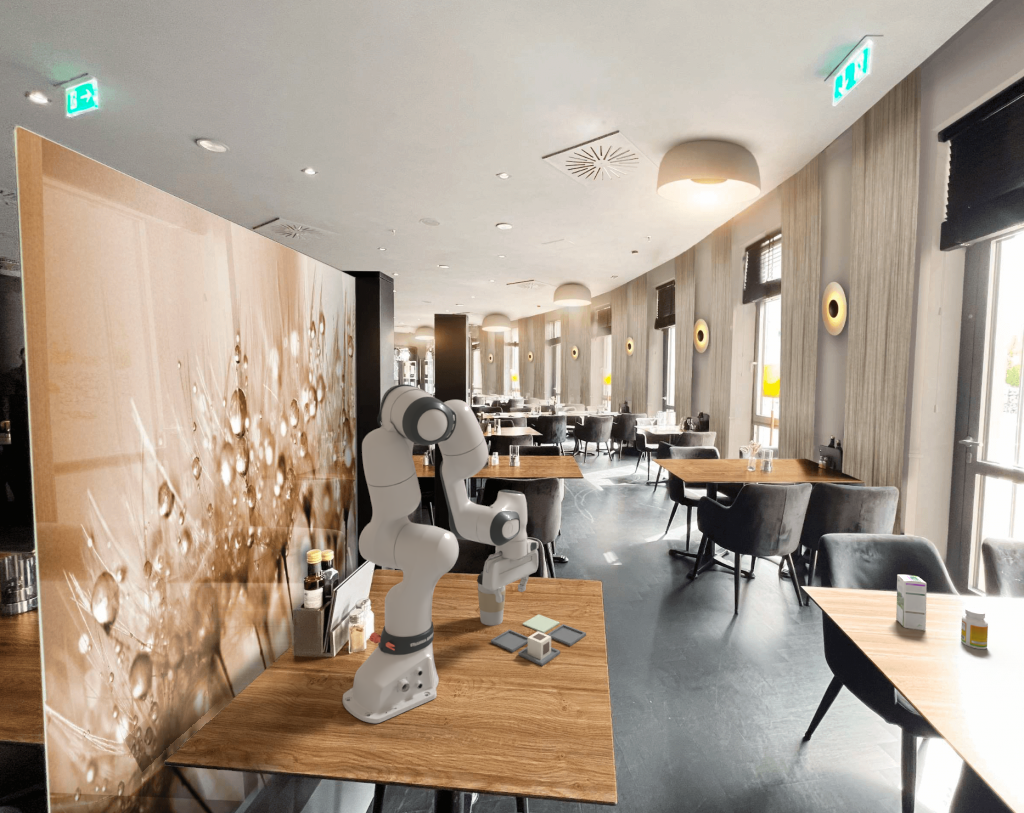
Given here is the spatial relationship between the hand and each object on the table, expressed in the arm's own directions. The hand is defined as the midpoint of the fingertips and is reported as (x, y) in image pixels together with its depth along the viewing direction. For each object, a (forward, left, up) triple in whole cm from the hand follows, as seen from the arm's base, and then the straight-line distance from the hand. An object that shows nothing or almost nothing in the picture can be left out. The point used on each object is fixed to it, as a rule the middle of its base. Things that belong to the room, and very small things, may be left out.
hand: (511, 596), depth 139 cm
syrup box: (+87, -85, -13) cm, 122 cm away
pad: (+14, 0, -13) cm, 19 cm away
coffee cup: (+6, +13, -13) cm, 20 cm away
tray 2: (0, -10, -13) cm, 16 cm away
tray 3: (+13, -10, -13) cm, 21 cm away
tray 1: (0, 0, -13) cm, 13 cm away
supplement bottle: (+84, -99, -13) cm, 131 cm away
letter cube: (0, -10, -13) cm, 16 cm away
